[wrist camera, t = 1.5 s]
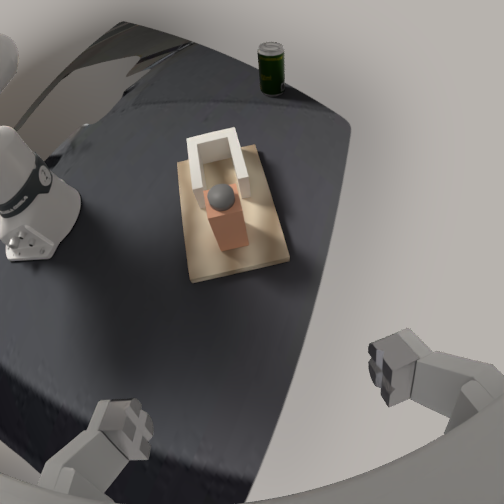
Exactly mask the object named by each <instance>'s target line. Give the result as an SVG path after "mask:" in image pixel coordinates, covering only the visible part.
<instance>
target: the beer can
mask: <svg viewBox="0 0 504 504" xmlns="http://www.w3.org/2000/svg"><path fill="white" fill-rule="evenodd" d="M258 63H259V76H260V89H261V91H262V93H263V94H264V95H266V96H269V97H276V96H279V95H281V94H282V93H283V92H284V90H285V80H284V79H285V74H284V49H283V46H282V44H280V43H277V42H266V43H262V44H260V45H259V47H258Z"/></svg>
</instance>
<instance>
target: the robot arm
mask: <svg viewBox="0 0 504 504" xmlns="http://www.w3.org/2000/svg"><path fill="white" fill-rule="evenodd" d="M18 63H19V54H18V50H17V47H16V44H15V43H14V41H13V40H12V39H11V38H10V37H8V36H6V35H4V34H0V93H1V92H2V91H3V89H4V88H5V87H6V86H7V84H8V83H9V82H10V80H11V79H12V78H13V77H14V75H15V74H16V73H17V69H18ZM80 206H81V199H80V195H79V193H78V191H77V190H76V189H74V188H72V187H70V186H69V185H67V184H66V183H65V182H64V181H63V180H62V179H59V178H58V177H57V176H56V175H55V174H53V173H52V172H51V171H50V170H49V168H48V167H47V165H46V164H45V162H44V161H43V160H42V159H41V158H40V156H39V155H37V154H36V152H33V151H31V150H30V149H29V147H28V146H27V145H26V144H25V142H24V141H23V140H22V139H21V137H20V136H19V135H18V133H17V132H16V131H15V130H14V129H13V128H11V127H9V126H0V239H1V241H2V242H3V243H4V244H6V255H7V258H8V259H9V260H10V261H21V260H38V259H49V258H51V257H52V256H53V254H54V252H55V250H56V248H57V246H58V245H59V243H60V242H61V241H62V240H63V239H64V238H65V237H66V236H67V234H68V233H69V232H70V230H71V229H72V227H73V226H74V224H75V222H76V220H77V217H78V215H79V211H80ZM368 353H369V354H370V356H371V359H370V361H369V362H368V363H369V372H370V376H371V379H372V381H373V383H374V385H375V386H376V387H379V388H381V396H382V398H383V399H384V401H385V402H386V404H387V406H388V407H391V406H393V405H396V404H398V403H400V402H403V401H405V400H407V399H410V398H411V400H413V401H415V402H417V403H419V404H421V405H423V406H425V407H427V408H430V409H432V410H434V411H436V412H438V413H440V414H442V415H444V416H447V417H449V418H450V420H449V422H448V425H447V427H446V430H445V432H444V435H443V436H441V437H439V438H437V439H436V440H434V441H432V442H430V443H428V444H427V445H425V446H423V447H421V448H419V449H417V450H415V451H413V452H411V453H409V454H407V455H405V456H403V457H401V458H399V459H396V460H394V461H392V462H390V463H388V464H385V465H383V466H380V467H378V468H376V469H373V470H371V471H368V472H366V473H363V474H360V475H357V476H355V477H352V478H349V479H346V480H343V481H340V482H337V483H334V484H330V485H327V486H323V487H320V488H316V489H313V490H309V491H305V492H301V493H297V494H292V495H288V496H283V497H278V498H273V499H268V500H261V501H255V502H248V503H240V504H504V375H503V374H502V373H501V372H500V371H499V370H498V369H497V368H496V367H495V366H494V365H492V364H488V363H483V362H479V361H475V360H471V359H467V358H463V357H459V356H455V355H451V354H447V353H443V352H439V351H435V352H432V351H431V350H430V348H429V347H428V346H427V345H426V344H424V342H423V341H421V339H420V338H419V337H418V336H417V335H416V334H415V333H414V332H413V331H412V330H411V329H409V328H406V329H403V330H401V331H399V332H397V333H395V334H392V335H390V336H387V337H385V338H382V339H380V340H377V341H375V342H372V343H370V344H369V347H368ZM141 407H142V405H141V403H140V402H139V401H138V399H135V398H129V399H112V400H101V401H99V402H98V404H97V406H96V409H95V411H94V414H93V416H92V418H91V421H90V423H89V426H88V428H87V431H83V432H81V433H80V434H79V435H78V436H77V437H76V438H74V439H73V440H72V441H71V442H70V443H68V444H67V445H66V446H65V447H64V448H62V449H61V450H60V451H59V452H58V453H57V454H55V455H54V456H53V457H52V458H50V459H49V460H48V461H47V462H46V463H45V466H44V468H43V471H42V473H41V476H40V479H39V482H38V484H37V486H35V485H32V484H29V483H27V482H24V481H21V480H18V479H16V478H13V477H10V476H8V475H5V474H3V473H0V504H118V503H114V501H113V500H112V499H111V498H110V497H108V496H107V495H105V494H104V492H105V491H106V490H107V488H108V487H109V486H110V485H111V483H112V482H113V481H114V480H115V478H116V477H117V476H118V474H119V473H120V472H121V471H122V469H123V468H124V467H125V466H126V464H127V463H128V462H129V461H128V460H148V459H149V454H150V448H151V445H150V443H149V442H148V441H149V440H150V439H151V438H152V437H153V431H154V429H153V422H152V420H151V417H150V416H149V415H148V413H146V412H145V411H143V410H141Z"/></svg>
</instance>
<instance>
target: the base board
mask: <svg viewBox="0 0 504 504" xmlns="http://www.w3.org/2000/svg"><path fill="white" fill-rule="evenodd" d="M240 148H241V151H242V155H243V158H244V162H245V166H246V169H247V173H248V176H249V184H250V191H251V197H249V198H244V199H242V198H241V194H240V190H239V186H238V182H237V178H236V174H235V169H234V165H233V161H232V158H228V159H224V160H219V161H215V162H211V163H207V164H203V167H204V174H205V180H206V186H207V190H209V189H211V188H212V187H213V186H215V185H217V184H227V185H230V184H235V183H236V185H237V190H238V194H239V198H240V202H241V206H242V211H243V216H244V221H245V226H246V231H247V236H248V241H249V245H248V246H243V247H239V248H235V249H230V250H226V251H222V252H221V250H220V248H219V245H218V243H217V240H216V238H215V236H214V233H213V231H212V228H211V226H210V223H209V221H208V218H207V212H206V208H201V209H200V207H199V204H198V202H197V200H196V197H195V195H194V192H193V190H192V182H191V174H190V165H189V160H186V161H182V162H178V163H177V167H178V179H179V191H180V201H181V211H182V221H183V230H184V239H185V247H186V255H187V262H188V270H189V277H190V281H191V282H192V283H196V282H200V281H205V280H209V279H214V278H218V277H223V276H227V275H232V274H236V273H241V272H245V271H249V270H254V269H258V268H262V267H267V266H271V265H275V264H279V263H284V262H288V261H289V260H290V256H289V252H288V249H287V246H286V242H285V239H284V235H283V232H282V229H281V225H280V222H279V219H278V216H277V212H276V209H275V206H274V203H273V199H272V196H271V193H270V190H269V187H268V183H267V180H266V177H265V174H264V171H263V168H262V165H261V162H260V159H259V156H258V153H257V149H256V146H255V145H250V146H245V147H240Z"/></svg>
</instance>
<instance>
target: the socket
mask: <svg viewBox="0 0 504 504" xmlns="http://www.w3.org/2000/svg"><path fill="white" fill-rule="evenodd" d="M187 147H188V156H189V165H190V174H191V182H192V190H193V192H194V195H195V197H196V200H197V202H198V204H199V207H200V209H201V208H206V206H205V199H204V193H203V191H205V190H207V186H206V180H205V174H204V167H203V164H207V163H211V162H215V161H219V160H224V159H228V158H232V161H233V165H234V169H235V174H236V178H237V182H238V186H239V190H240V194H241V198H242V199H244V198H249V197H251V191H250V184H249V176H248V173H247V169H246V166H245V162H244V158H243V155H242V151H241V148H240V144H239V141H238V137H237V134H236V130H235V127H234V128H229V129H224V130H220V131H216V132H211V133H207V134H203V135H199V136H195V137H191V138H187Z"/></svg>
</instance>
